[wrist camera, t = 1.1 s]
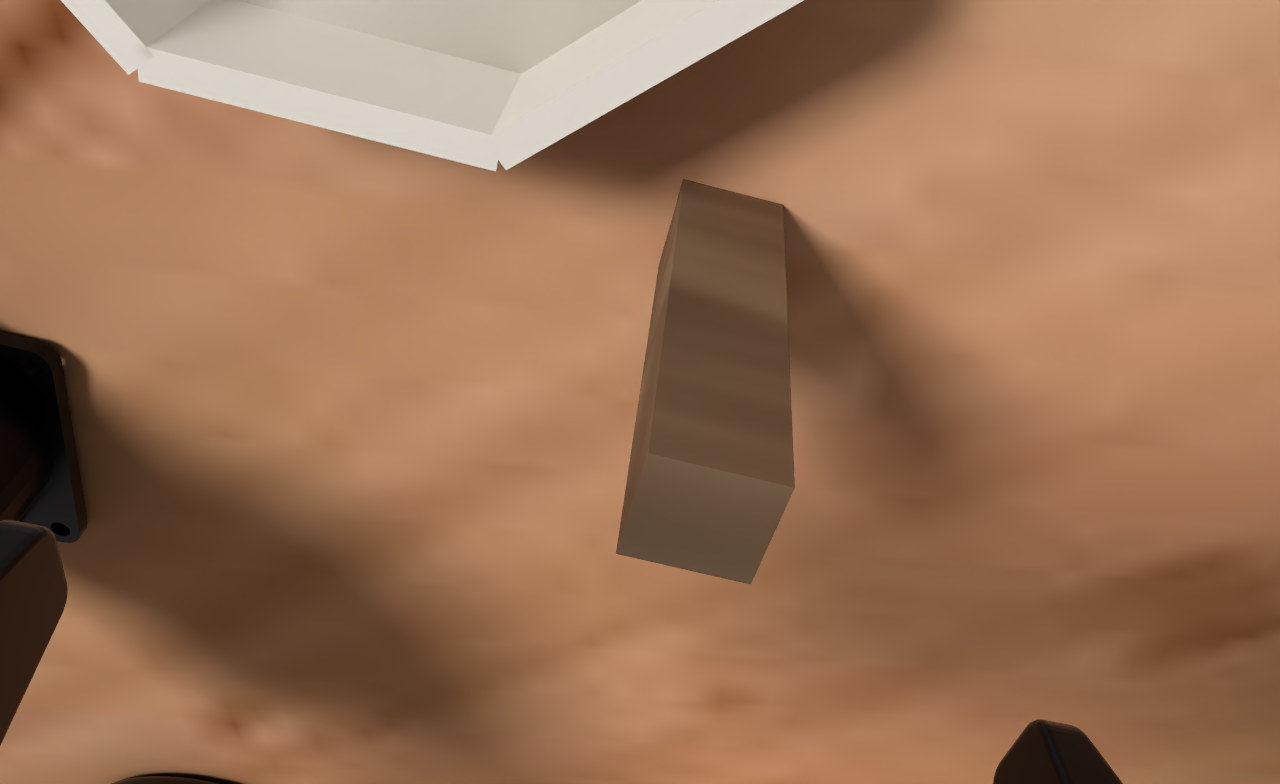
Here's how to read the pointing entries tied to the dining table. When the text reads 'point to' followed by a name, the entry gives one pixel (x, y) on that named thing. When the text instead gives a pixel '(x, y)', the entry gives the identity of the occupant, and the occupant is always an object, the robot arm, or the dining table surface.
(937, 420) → the dining table surface
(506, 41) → the octagonal white tray
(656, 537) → the tall wooden post
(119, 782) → the ink bottle
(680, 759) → the dining table surface
